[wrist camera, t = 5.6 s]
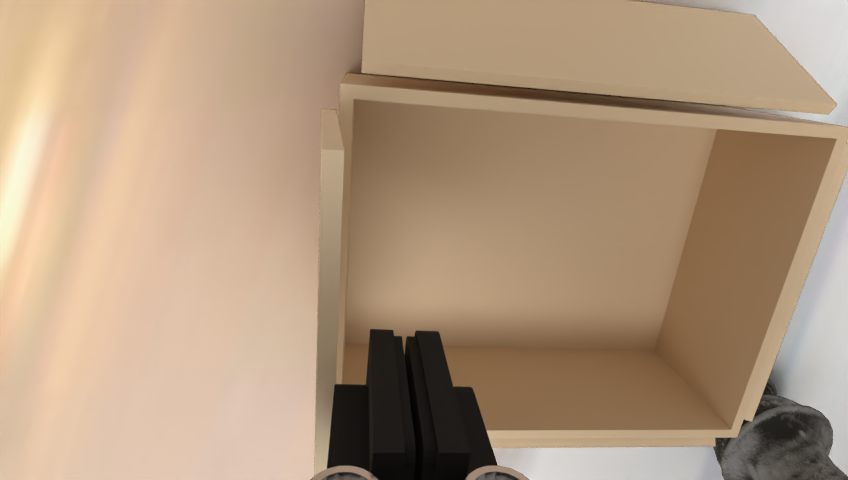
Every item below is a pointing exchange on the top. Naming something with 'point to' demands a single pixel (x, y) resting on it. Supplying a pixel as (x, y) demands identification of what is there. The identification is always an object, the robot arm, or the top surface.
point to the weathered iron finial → (779, 443)
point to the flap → (328, 280)
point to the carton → (582, 210)
